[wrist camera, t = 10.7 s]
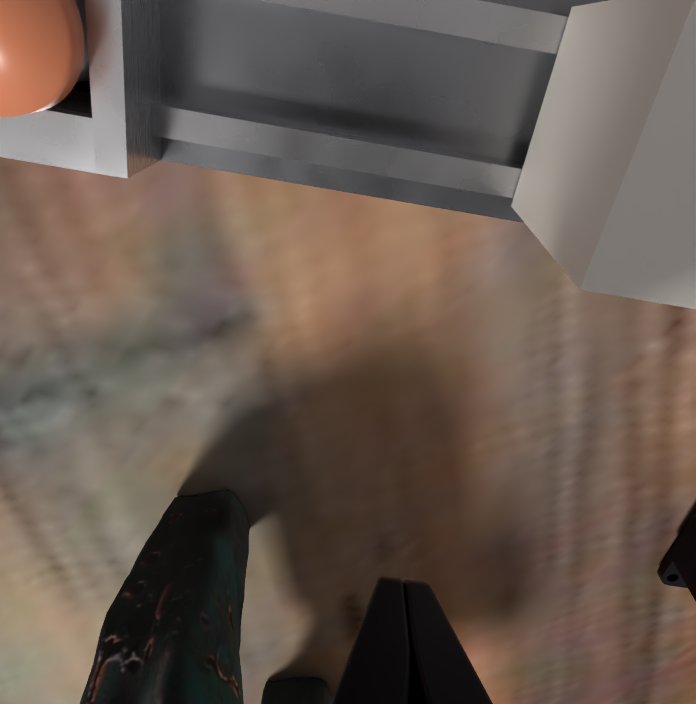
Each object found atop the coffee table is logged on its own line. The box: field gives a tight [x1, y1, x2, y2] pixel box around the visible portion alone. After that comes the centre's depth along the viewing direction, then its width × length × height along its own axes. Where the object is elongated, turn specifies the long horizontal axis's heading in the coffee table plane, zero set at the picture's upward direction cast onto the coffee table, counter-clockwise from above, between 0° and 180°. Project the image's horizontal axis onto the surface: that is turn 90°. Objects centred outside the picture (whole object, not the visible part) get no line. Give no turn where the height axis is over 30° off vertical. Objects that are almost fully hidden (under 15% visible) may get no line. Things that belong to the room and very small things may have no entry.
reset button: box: [0, 0, 90, 117], centre depth 14 cm, size 4×4×5 cm
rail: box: [0, 0, 608, 222], centre depth 14 cm, size 24×6×4 cm, turn 81°
